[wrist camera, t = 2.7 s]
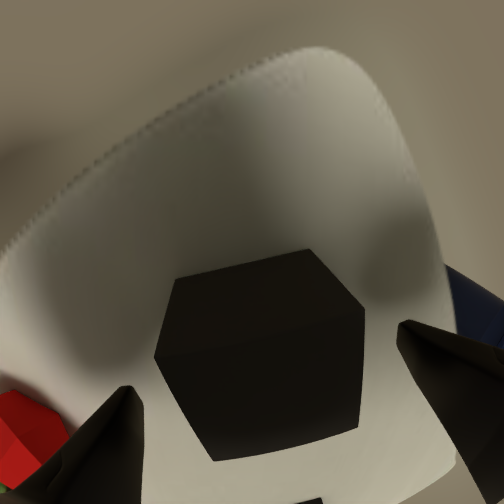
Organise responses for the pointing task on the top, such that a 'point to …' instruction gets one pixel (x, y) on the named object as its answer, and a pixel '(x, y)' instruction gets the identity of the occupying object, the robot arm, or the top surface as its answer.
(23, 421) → the apple
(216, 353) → the black block
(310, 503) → the base pad
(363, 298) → the top surface
